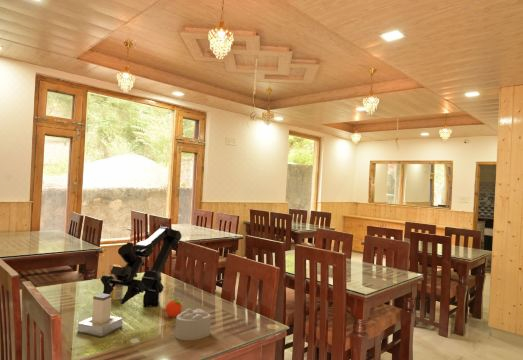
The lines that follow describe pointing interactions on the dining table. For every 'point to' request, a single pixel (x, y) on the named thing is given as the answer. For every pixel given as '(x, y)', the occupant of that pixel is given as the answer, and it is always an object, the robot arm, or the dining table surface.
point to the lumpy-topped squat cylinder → (192, 324)
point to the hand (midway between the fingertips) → (111, 302)
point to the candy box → (116, 286)
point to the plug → (101, 308)
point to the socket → (99, 327)
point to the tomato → (173, 308)
